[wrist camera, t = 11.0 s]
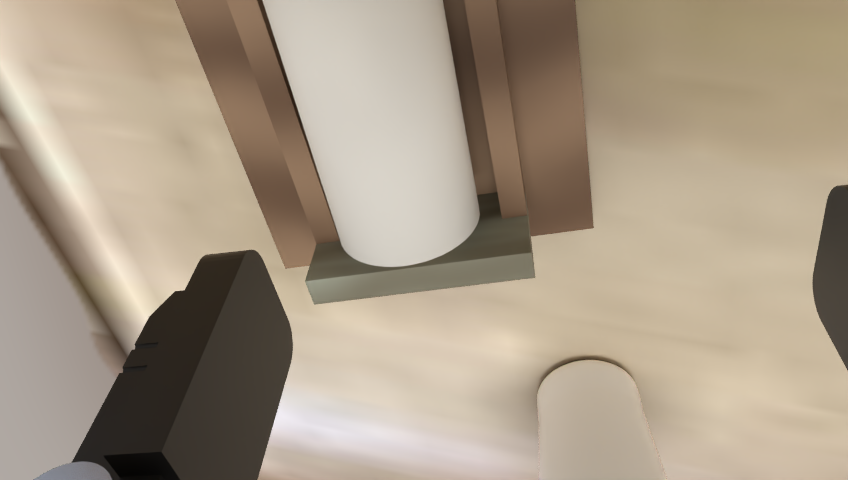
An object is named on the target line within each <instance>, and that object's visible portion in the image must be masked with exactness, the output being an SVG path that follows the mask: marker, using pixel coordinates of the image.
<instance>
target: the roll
mask: <svg viewBox="0 0 848 480" xmlns="http://www.w3.org/2000/svg"><path fill="white" fill-rule="evenodd" d="M262 1H263V4H264V7H265V10H266V13H267V16H268V19H269V22H270V26H271V29H272V32H273V35H274V38H275V41H276V44H277V47H278V50H279V53H280V56H281V59H282V63H283V66H284V69H285V72H286V75H287V78H288V81H289V84H290V87H291V90H292V93H293V97H294V100H295V103H296V106H297V109H298V112H299V115H300V118H301V121H302V124H303V127H304V130H305V134H306V137H307V140H308V143H309V146H310V149H311V152H312V155H313V158H314V161H315V164H316V168H317V171H318V174H319V177H320V180H321V183H322V186H323V189H324V192H325V195H326V198H327V201H328V205H329V208H330V211H331V214H332V217H333V220H334V223H335V226H336V229H337V232H338V235H339V239H340V242H341V245H342V247H343V249H344V250H345V251H346V252H347V254H348V255H350V256H351V257H352V258H354V259H356V260H358V261H360V262H363V263H365V264H369V265H374V266H382V267H399V266H408V265H414V264H418V263H422V262H426V261H429V260H432V259H434V258H437V257H439V256H442V255H444V254H445V253H447V252H449V251H451V250H453V249H454V248H456V247H457V246H459V245H460V244H461V243H462V242H464V241H465V240H466V239H467V238H468V237H469V236H470V235H471V233H472V232H473V231H474V229H475V228H476V226H477V224H478V221H479V216H480V211H479V204H478V198H477V193H476V187H475V181H474V176H473V170H472V164H471V158H470V153H469V147H468V141H467V136H466V130H465V124H464V119H463V113H462V107H461V101H460V96H459V90H458V84H457V79H456V73H455V67H454V62H453V56H452V50H451V44H450V39H449V33H448V27H447V22H446V16H445V10H444V4H443V0H262Z"/></svg>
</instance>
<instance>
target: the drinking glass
mask: <svg viewBox="0 0 848 480" xmlns="http://www.w3.org/2000/svg"><path fill="white" fill-rule="evenodd" d="M537 412H538V423H539V472H538V480H668V479H667V476H666V474H665V471H664V468H663V465H662V463H661V460H660V457H659V454H658V451H657V448H656V446H655V443H654V440H653V437H652V434H651V431H650V428H649V426H648V423H647V420H646V417H645V414H644V410H643V406H642V402H641V398H640V394H639V390H638V387H637V385H636V383H635V381H634V380H633V378H632V377H631V376H630V375H629V374H628V373H627V372H626V371H625V370H623V369H622V368H620V367H618V366H616V365H614V364H611V363H608V362H605V361H599V360H581V361H575V362H571V363H568V364H565V365H563V366H560V367H559V368H557V369H555V370H554V371H552V372H551V373H550V374H549V375H548V376H547V377H546V378H545V379H544V380H543V382H542V383H541V385H540V387H539V390H538V393H537Z"/></svg>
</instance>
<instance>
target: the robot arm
mask: <svg viewBox="0 0 848 480" xmlns="http://www.w3.org/2000/svg"><path fill="white" fill-rule="evenodd" d="M813 295H814V301H815V305H816V309H817V312H818V315H819V317H820V319H821V321H822V323H823V325H824V327H825V329H826V331H827V333H828V335H829V336H830V338H831V340H832V342H833V344H834V346H835V348H836V349H837V351H838V353H839V355H840V357H841V359H842V361H843V362H844V364H845V366H846V368H847V370H848V185H842V186H836V187H834V188H833V189H832V190H831V192H830V194H829V196H828V199H827V204H826V209H825V214H824V219H823V225H822V230H821V235H820V241H819V246H818V251H817V256H816V262H815V267H814V272H813ZM292 351H293V342H292V332H291V327H290V324H289V321H288V318H287V316H286V314H285V311H284V309H283V306H282V304H281V302H280V299H279V297H278V295H277V292H276V290H275V287H274V285H273V283H272V280H271V278H270V276H269V273H268V271H267V269H266V266H265V264H264V262H263V259H262V258H261V256H260V255H259V253H258V252H256V251H255V250H246V251H237V252H228V253H219V254H210V255H205V256H203V257H202V258H201V260H200V261H199V263H198V265H197V267H196V269H195V271H194V273H193V275H192V277H191V279H190V281H189V283H188V285H187V287H186V289H185V290H184V291H175V292H174V293H173V294H172V295H171V296H170V297H169V298H168V299H167V300H166V301H165V302H164V303H163V304H162V305H161V306H160V307H159V308H158V309H157V310H156V311H155V312H154V313H153V314H152V315H151V316H150V317H149V319H148V321H147V322H146V324H145V326H144V328H143V330H142V332H141V334H140V336H139V337H138V339H137V341H136V343H135V350H132V351H131V352H130V354H129V356H128V358H127V360H126V362H125V364H124V366H123V373H119V375H118V377H117V379H116V381H115V382H114V384H113V386H112V388H111V390H110V392H109V394H108V396H107V398H106V399H105V402H104V403H103V405H102V407H101V409H100V411H99V413H98V414H97V416H96V418H95V420H94V422H93V424H92V426H91V428H90V429H89V431H88V433H87V435H86V437H85V439H84V441H83V443H82V444H81V446H80V448H79V450H78V452H77V454H76V456H75V458H74V459H73V461H72V463H69V464H65V465H61V466H59V467H56V468H53V469H51V470H49V471H47V472H46V473H43V474H42V475H40V476H39V477H37V478H35V479H34V480H257V479H258V475H259V472H260V469H261V465H262V462H263V458H264V455H265V451H266V448H267V444H268V441H269V437H270V434H271V430H272V427H273V423H274V420H275V416H276V413H277V409H278V406H279V402H280V399H281V395H282V392H283V388H284V385H285V381H286V378H287V374H288V371H289V367H290V364H291V359H292Z"/></svg>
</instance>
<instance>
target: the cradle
mask: <svg viewBox="0 0 848 480" xmlns="http://www.w3.org/2000/svg"><path fill="white" fill-rule="evenodd" d="M175 1H176V3H177V6H178V8H179V10H180V13H181V15H182V18H183V20H184V23H185V25H186V28H187V30H188V32H189V35H190V37H191V40H192V42H193V45H194V47H195V49H196V52H197V54H198V57H199V59H200V62H201V64H202V66H203V69H204V71H205V74H206V76H207V79H208V81H209V84H210V86H211V88H212V91H213V93H214V96H215V98H216V101H217V103H218V105H219V108H220V110H221V113H222V115H223V118H224V120H225V122H226V125H227V127H228V130H229V132H230V135H231V137H232V140H233V142H234V144H235V147H236V149H237V152H238V154H239V157H240V159H241V161H242V164H243V166H244V169H245V171H246V174H247V176H248V178H249V181H250V183H251V186H252V188H253V191H254V193H255V196H256V198H257V200H258V203H259V205H260V208H261V210H262V213H263V215H264V217H265V220H266V222H267V225H268V227H269V230H270V232H271V234H272V237H273V239H274V242H275V244H276V247H277V249H278V252H279V254H280V256H281V259H282V261H283V264H284V266H285V269H286V268H293V267H301V266H308V265H310V267H309V270H308V274H307V277H306V280H305V282H306V285H307V287H308V290H309V292H310V295H311V297H312V300H313V303H314V304H322V303H330V302H339V301H347V300H355V299H363V298H372V297H380V296H388V295H396V294H405V293H413V292H421V291H429V290H437V289H446V288H454V287H462V286H470V285H479V284H487V283H495V282H503V281H512V280H520V279H528V278H535V271H534V262H533V253H532V244H531V236H537V235H545V234H552V233H560V232H567V231H575V230H583V229H590V228H594V227H593V215H592V203H591V191H590V179H589V167H588V155H587V142H586V130H585V118H584V106H583V94H582V82H581V70H580V57H579V45H578V33H577V21H576V9H575V0H443V4H444V10H445V16H446V22H447V27H448V33H449V39H450V44H451V50H452V56H453V62H454V67H455V73H456V79H457V84H458V90H459V96H460V101H461V107H462V113H463V119H464V124H465V130H466V136H467V141H468V147H469V153H470V158H471V164H472V170H473V176H474V181H475V187H476V193H477V198H478V204H479V211H480V216H479V221H478V224H477V226H476V228H475V229H474V231H473V232H472V233H471V235H470V236H469V237H468V238H467V239H466V240H465V241H464V242H462V243H461V244H460V245H459V246H457V247H456V248H454V249H453V250H451V251H449V252H447V253H445V254H444V255H442V256H439V257H437V258H434V259H432V260H429V261H426V262H422V263H418V264H414V265H408V266H399V267H382V266H374V265H369V264H365V263H363V262H360V261H358V260H356V259H354V258H352V257H351V256H350V255H348V254H347V252H346V251H345V250H344V249H343V247H342V245H341V242H340V239H339V235H338V232H337V229H336V226H335V223H334V220H333V217H332V214H331V211H330V208H329V205H328V201H327V198H326V195H325V192H324V189H323V186H322V183H321V180H320V177H319V174H318V171H317V168H316V164H315V161H314V158H313V155H312V152H311V149H310V146H309V143H308V140H307V137H306V134H305V130H304V127H303V124H302V121H301V118H300V115H299V112H298V109H297V106H296V103H295V100H294V97H293V93H292V90H291V87H290V84H289V81H288V78H287V75H286V72H285V69H284V66H283V63H282V59H281V56H280V53H279V50H278V47H277V44H276V41H275V38H274V35H273V32H272V29H271V26H270V22H269V19H268V16H267V13H266V10H265V7H264V4H263V1H262V0H175Z"/></svg>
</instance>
